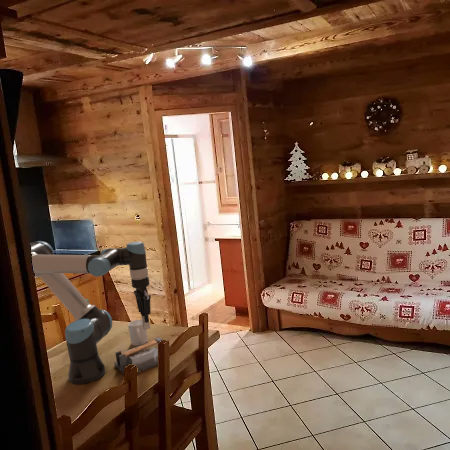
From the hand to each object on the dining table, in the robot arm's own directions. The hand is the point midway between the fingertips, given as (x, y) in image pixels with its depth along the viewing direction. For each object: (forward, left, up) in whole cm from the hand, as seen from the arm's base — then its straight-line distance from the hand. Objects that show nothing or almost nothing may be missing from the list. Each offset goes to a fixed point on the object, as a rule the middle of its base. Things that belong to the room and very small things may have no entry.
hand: (146, 328), depth 198 cm
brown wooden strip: (-5, 0, -8) cm, 10 cm away
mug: (+3, +21, -15) cm, 26 cm away
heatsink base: (-5, 0, -15) cm, 15 cm away
